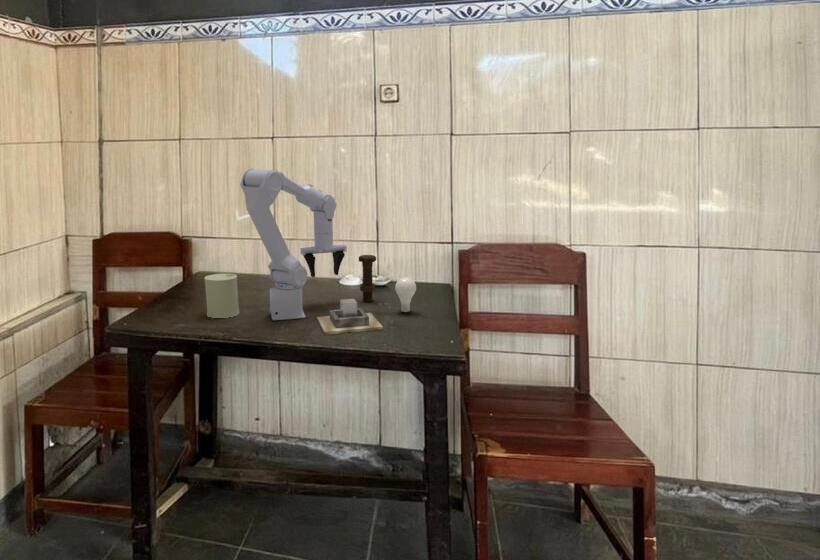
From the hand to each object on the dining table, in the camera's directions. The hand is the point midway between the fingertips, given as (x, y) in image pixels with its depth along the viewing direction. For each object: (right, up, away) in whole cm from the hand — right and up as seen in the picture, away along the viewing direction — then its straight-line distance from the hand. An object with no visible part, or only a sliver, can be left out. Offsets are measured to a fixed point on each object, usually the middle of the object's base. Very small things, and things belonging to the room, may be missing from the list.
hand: (324, 275), depth 171 cm
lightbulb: (+26, -12, -6) cm, 29 cm away
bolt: (+13, -9, +6) cm, 17 cm away
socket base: (+10, -14, -18) cm, 25 cm away
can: (-29, -12, -10) cm, 33 cm away
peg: (+10, -13, -18) cm, 24 cm away
